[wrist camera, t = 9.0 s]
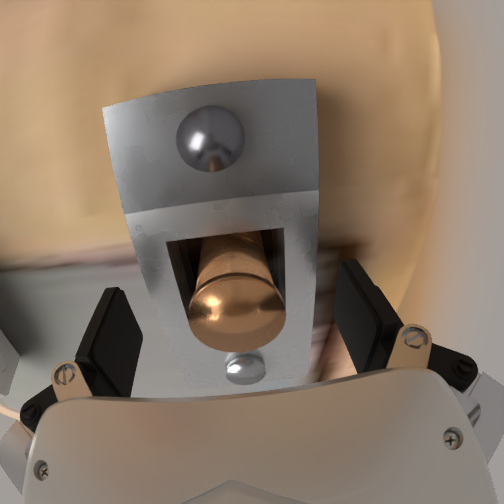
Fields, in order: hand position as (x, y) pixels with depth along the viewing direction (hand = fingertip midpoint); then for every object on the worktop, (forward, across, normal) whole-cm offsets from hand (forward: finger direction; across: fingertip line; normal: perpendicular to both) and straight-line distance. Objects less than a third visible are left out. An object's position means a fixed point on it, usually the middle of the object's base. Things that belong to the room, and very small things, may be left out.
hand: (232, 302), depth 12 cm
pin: (+5, 0, 0) cm, 5 cm away
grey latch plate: (+5, 0, 0) cm, 5 cm away
